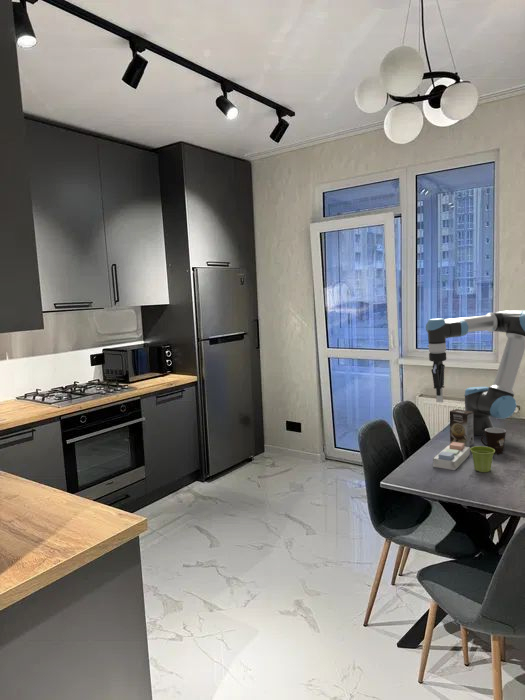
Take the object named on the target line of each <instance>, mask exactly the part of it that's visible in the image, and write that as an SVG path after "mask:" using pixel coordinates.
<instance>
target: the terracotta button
mask: <svg viewBox="0 0 525 700" xmlns="http://www.w3.org/2000/svg"><path fill="white" fill-rule="evenodd" d="M450 449H454V450H461V451H462V450H463V449H464V443H458V442H452V443H451V444H450Z"/></svg>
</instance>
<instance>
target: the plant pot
mask: <svg viewBox="0 0 525 700" xmlns="http://www.w3.org/2000/svg"><path fill="white" fill-rule="evenodd" d="M494 453H495V450H494V449H493V448H490V447H487V446H486V445H475V446H472V447H470V454H471V455H472V460H473V461H472V462H473V467H474V470H475V471H478V472H479V473H488V472H491V470H492V463H493V458H494V457H493V456H494V455H495V454H494Z"/></svg>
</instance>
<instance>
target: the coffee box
mask: <svg viewBox="0 0 525 700" xmlns="http://www.w3.org/2000/svg"><path fill="white" fill-rule="evenodd" d="M474 441H475V440H474V435H473V412H472V411H466V410H465V409H458V408H454V409H452V410H450V411H449V443H450V444H451V443H452V442H458V443H464V446H465V447H470V446H472V445H474Z"/></svg>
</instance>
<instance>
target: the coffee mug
mask: <svg viewBox="0 0 525 700" xmlns="http://www.w3.org/2000/svg"><path fill="white" fill-rule="evenodd" d="M506 433H507V430H506V429H504V428H501V427H493V428H487V429H485V434H486V435H481V437H480V442H481V443H482V445H483V446H485V447H490V448H493V449H494V450H495V453H494V455H501V454H502V455H503V454H504V451H505V442H506ZM483 438H485V440H486V443H485V442H484V440H483Z"/></svg>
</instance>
